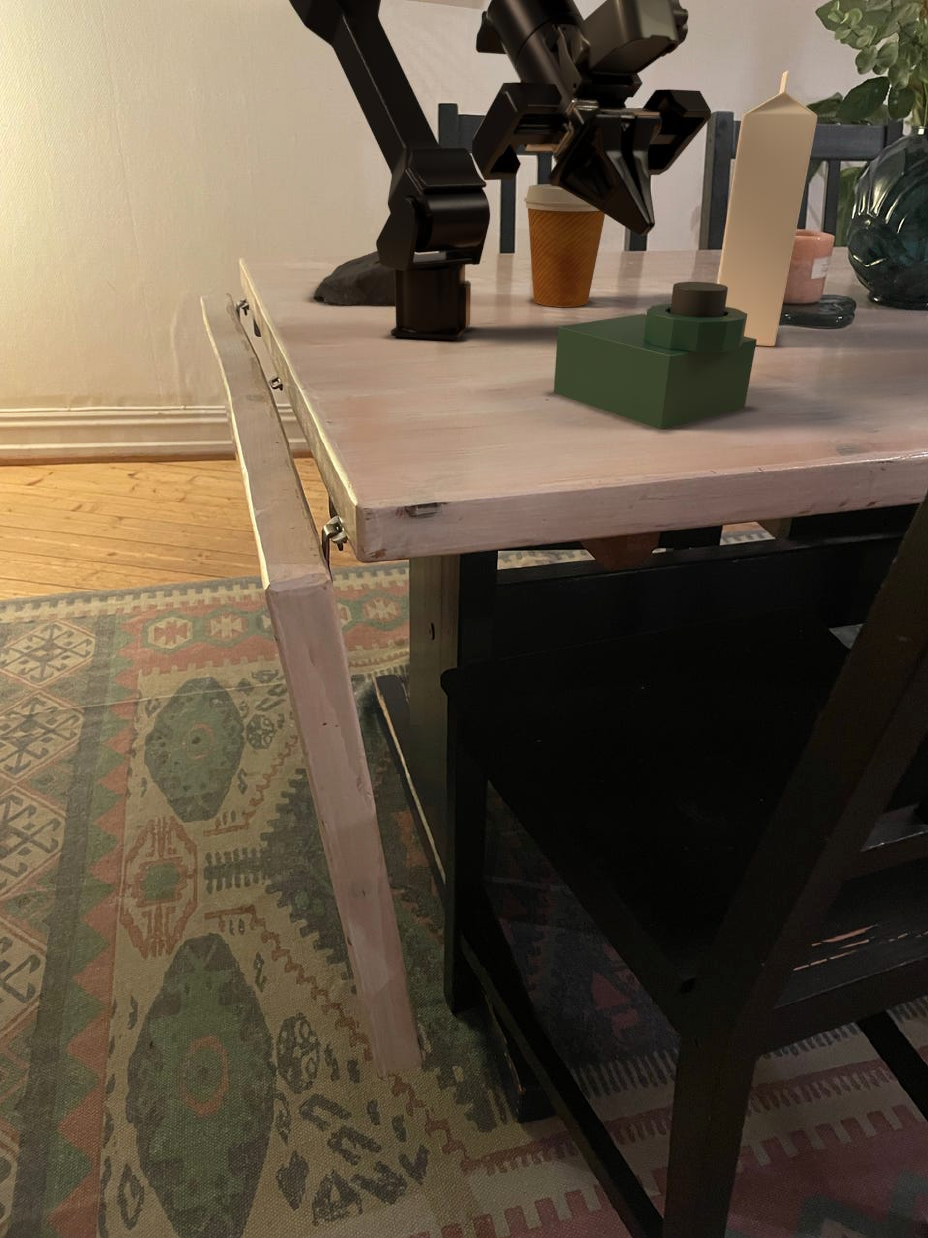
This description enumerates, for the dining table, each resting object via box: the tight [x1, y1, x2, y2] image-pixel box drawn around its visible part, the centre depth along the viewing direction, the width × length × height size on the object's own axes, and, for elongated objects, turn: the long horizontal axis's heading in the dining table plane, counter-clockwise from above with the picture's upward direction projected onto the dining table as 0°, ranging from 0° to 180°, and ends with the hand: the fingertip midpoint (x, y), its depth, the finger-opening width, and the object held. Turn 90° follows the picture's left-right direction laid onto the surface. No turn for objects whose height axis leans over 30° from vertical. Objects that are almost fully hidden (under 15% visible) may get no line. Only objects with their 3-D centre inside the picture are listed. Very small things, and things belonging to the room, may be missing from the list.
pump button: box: [670, 281, 728, 318], centre depth 58 cm, size 4×4×2 cm
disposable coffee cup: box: [523, 183, 606, 308], centre depth 97 cm, size 10×10×12 cm
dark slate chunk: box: [312, 250, 419, 306], centre depth 105 cm, size 15×22×5 cm
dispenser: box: [553, 302, 757, 431], centre depth 62 cm, size 12×9×7 cm
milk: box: [716, 69, 818, 347], centre depth 79 cm, size 6×6×22 cm
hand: (647, 230), depth 60 cm, fingers closed
